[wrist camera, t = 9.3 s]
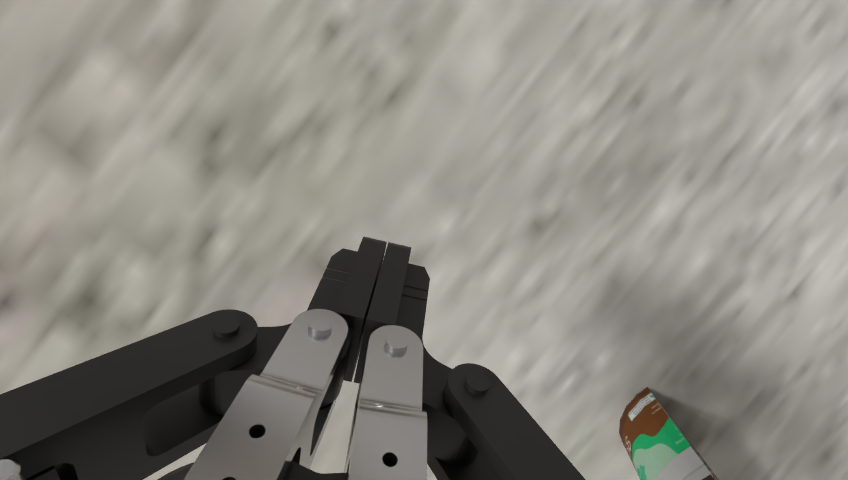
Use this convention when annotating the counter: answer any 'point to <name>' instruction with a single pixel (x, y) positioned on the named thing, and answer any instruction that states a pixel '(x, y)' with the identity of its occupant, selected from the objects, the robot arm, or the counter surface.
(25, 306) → the counter surface
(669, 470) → the food container
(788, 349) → the counter surface
